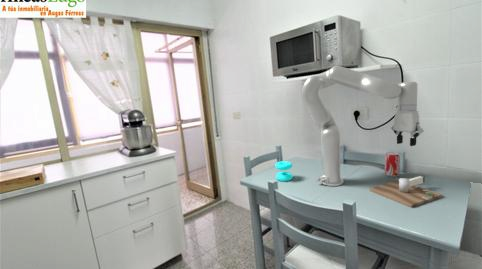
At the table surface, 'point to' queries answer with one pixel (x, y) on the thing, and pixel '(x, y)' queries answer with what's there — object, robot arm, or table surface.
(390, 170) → the soda can
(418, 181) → the white elongated piece
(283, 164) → the donuts
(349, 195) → the table surface
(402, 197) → the brown wooden cutting board
